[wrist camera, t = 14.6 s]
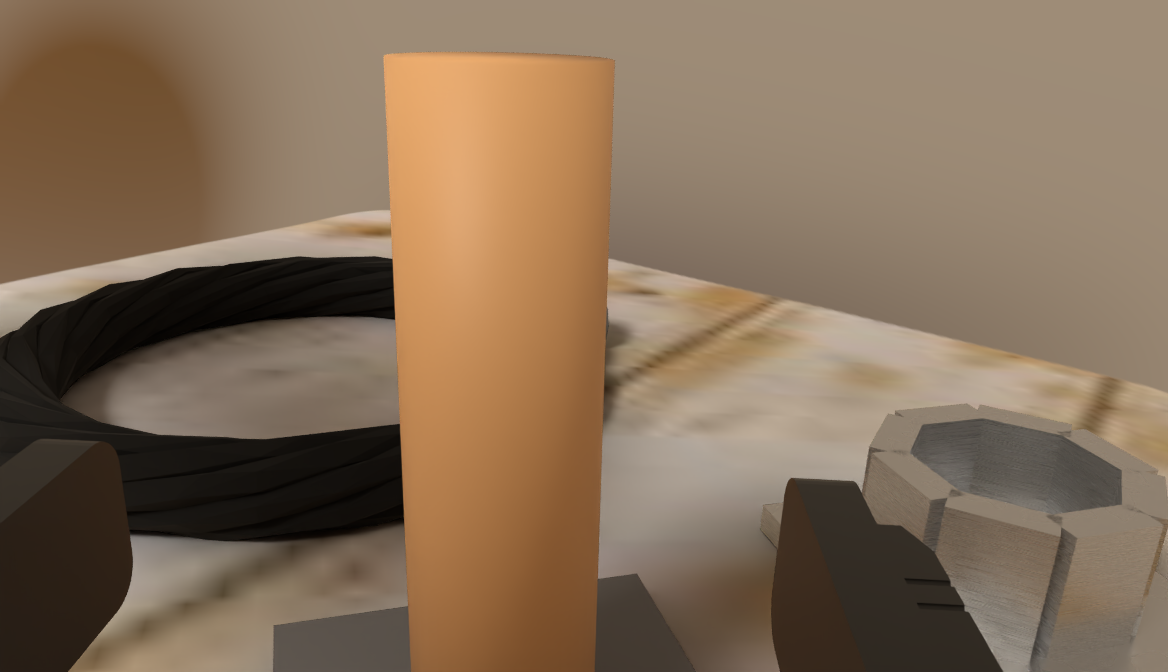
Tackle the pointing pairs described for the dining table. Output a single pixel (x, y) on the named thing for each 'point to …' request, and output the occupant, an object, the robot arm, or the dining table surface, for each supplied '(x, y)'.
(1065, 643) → the collar stand
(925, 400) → the dining table surface
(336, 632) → the mat
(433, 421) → the tube
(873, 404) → the dining table surface
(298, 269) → the cable lock
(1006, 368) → the dining table surface
